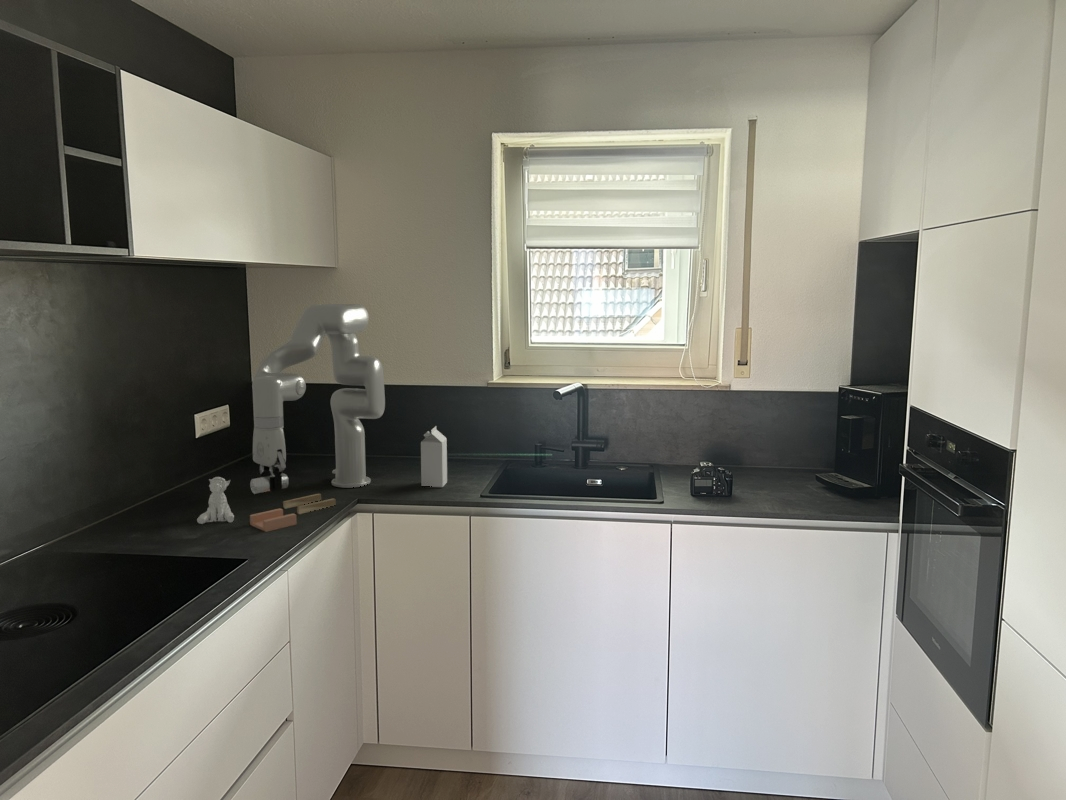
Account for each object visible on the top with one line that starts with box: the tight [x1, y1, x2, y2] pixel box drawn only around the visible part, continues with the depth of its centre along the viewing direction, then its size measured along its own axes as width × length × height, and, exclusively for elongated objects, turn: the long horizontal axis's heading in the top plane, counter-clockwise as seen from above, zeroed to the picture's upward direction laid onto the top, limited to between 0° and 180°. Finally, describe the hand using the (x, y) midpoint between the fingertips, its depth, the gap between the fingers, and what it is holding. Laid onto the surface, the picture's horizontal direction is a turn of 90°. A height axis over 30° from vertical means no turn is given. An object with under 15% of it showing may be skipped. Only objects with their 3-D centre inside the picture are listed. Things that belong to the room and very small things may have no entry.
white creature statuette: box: [196, 476, 235, 525], centre depth 214 cm, size 10×9×12 cm
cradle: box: [249, 507, 298, 533], centre depth 210 cm, size 9×9×3 cm
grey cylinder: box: [249, 473, 290, 495], centre depth 208 cm, size 9×4×4 cm, turn 137°
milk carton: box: [420, 425, 448, 488], centre depth 252 cm, size 7×7×19 cm
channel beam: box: [282, 493, 337, 515], centre depth 227 cm, size 9×12×2 cm
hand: (271, 488), depth 209 cm, fingers closed on grey cylinder, 4 cm apart
